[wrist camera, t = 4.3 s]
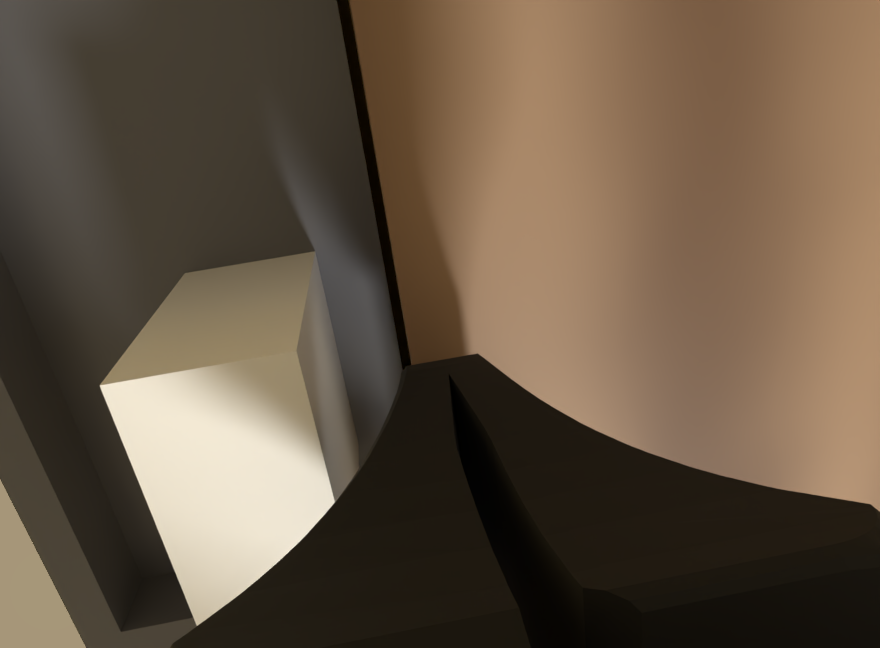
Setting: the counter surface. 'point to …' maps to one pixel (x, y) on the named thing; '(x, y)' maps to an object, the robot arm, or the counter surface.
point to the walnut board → (646, 217)
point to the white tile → (236, 421)
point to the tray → (160, 248)
